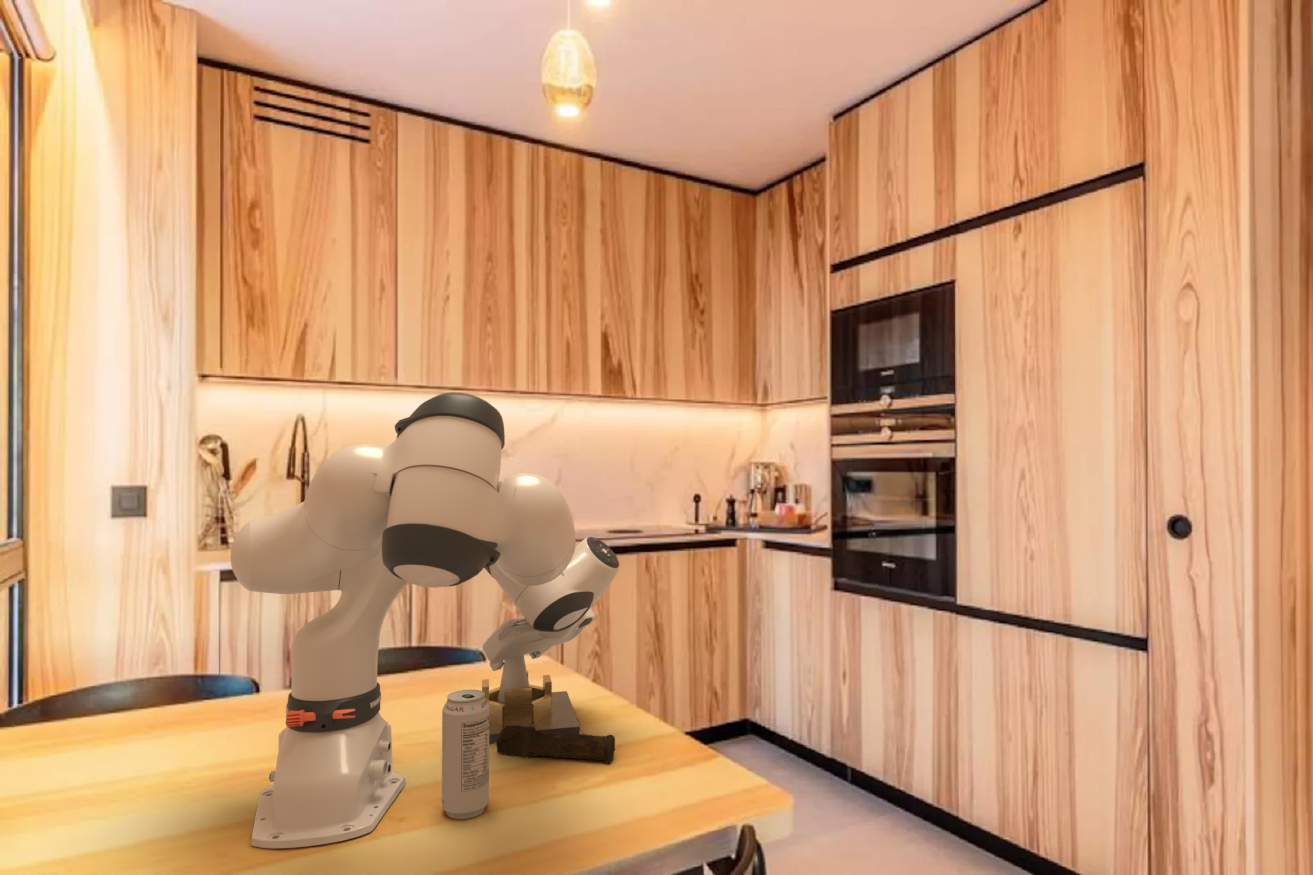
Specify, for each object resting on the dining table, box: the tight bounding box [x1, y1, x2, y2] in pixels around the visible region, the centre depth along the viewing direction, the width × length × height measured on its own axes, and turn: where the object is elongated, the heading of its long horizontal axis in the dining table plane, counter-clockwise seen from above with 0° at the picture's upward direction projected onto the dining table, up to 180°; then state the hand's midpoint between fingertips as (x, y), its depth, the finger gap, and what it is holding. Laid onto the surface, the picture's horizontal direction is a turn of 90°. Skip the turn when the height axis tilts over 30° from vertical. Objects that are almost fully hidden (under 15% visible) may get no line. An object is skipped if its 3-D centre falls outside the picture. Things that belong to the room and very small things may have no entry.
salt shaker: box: [498, 655, 530, 704], centre depth 132 cm, size 6×6×13 cm
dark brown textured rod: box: [495, 725, 616, 765], centre depth 115 cm, size 19×4×5 cm, turn 78°
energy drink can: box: [441, 689, 490, 820], centre depth 97 cm, size 6×6×15 cm
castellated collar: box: [481, 670, 581, 745], centre depth 131 cm, size 20×20×7 cm
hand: (514, 661), depth 132 cm, fingers open, 8 cm apart
